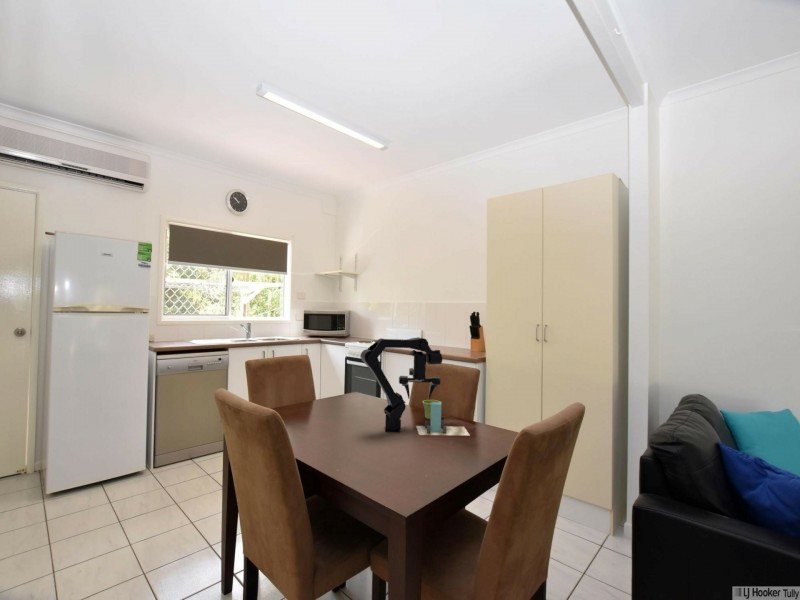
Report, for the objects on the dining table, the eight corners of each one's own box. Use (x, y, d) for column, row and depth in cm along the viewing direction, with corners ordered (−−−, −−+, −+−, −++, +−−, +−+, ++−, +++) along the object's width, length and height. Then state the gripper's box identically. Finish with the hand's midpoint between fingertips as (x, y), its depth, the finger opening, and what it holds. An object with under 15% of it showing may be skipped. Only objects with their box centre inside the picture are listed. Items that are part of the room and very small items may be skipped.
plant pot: (418, 417, 188) (419, 400, 188) (435, 416, 192) (435, 399, 192) (427, 423, 179) (428, 404, 179) (444, 421, 183) (445, 403, 183)
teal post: (430, 431, 163) (431, 404, 164) (430, 428, 168) (431, 401, 168) (440, 432, 163) (441, 404, 163) (440, 429, 167) (440, 402, 168)
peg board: (418, 437, 159) (419, 427, 159) (416, 428, 171) (416, 419, 171) (470, 437, 160) (470, 428, 160) (463, 428, 172) (464, 420, 172)
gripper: (437, 362, 181) (436, 395, 181) (398, 362, 180) (397, 394, 180) (440, 366, 170) (440, 401, 170) (399, 365, 169) (398, 400, 169)
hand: (418, 399), depth 172 cm, fingers open, 9 cm apart
